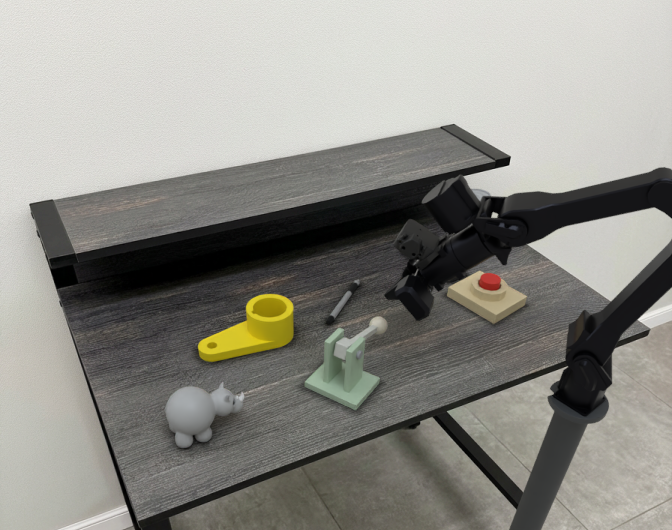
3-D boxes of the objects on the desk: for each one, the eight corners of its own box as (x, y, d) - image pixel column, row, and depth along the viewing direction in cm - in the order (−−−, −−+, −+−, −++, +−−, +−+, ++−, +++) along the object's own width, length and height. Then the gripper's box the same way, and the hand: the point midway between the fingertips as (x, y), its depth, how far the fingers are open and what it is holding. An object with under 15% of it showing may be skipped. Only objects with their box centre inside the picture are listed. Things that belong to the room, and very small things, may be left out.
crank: (280, 315, 120) (280, 289, 116) (301, 339, 114) (301, 313, 111) (191, 343, 112) (187, 316, 108) (209, 370, 107) (206, 343, 103)
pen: (324, 324, 118) (325, 318, 117) (356, 280, 130) (356, 275, 129) (331, 326, 118) (331, 320, 117) (362, 282, 129) (362, 277, 129)
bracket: (329, 361, 110) (331, 316, 104) (379, 383, 107) (384, 338, 100) (304, 387, 105) (304, 341, 99) (355, 410, 101) (359, 365, 95)
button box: (524, 305, 125) (529, 288, 123) (493, 324, 120) (498, 307, 118) (477, 279, 132) (481, 262, 129) (446, 296, 127) (449, 279, 124)
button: (503, 286, 124) (505, 279, 123) (490, 293, 122) (492, 286, 121) (487, 278, 126) (489, 270, 125) (474, 284, 124) (476, 277, 123)
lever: (372, 327, 113) (376, 311, 111) (388, 333, 111) (392, 317, 110) (330, 356, 101) (333, 339, 99) (347, 363, 100) (350, 346, 98)
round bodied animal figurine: (253, 434, 97) (250, 394, 91) (175, 456, 93) (168, 416, 87) (239, 404, 101) (236, 364, 96) (165, 423, 98) (157, 383, 92)
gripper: (442, 186, 100) (371, 234, 110) (416, 240, 87) (337, 290, 96) (482, 239, 103) (410, 281, 113) (463, 299, 90) (382, 342, 100)
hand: (386, 296), depth 106 cm, fingers closed
